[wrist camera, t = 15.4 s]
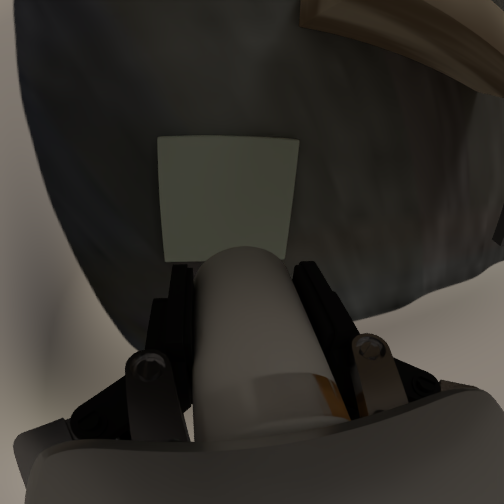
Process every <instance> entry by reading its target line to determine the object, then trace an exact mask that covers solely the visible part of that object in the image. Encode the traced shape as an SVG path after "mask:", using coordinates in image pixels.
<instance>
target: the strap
mask: <svg viewBox="0 0 504 504" xmlns="http://www.w3.org/2000/svg"><path fill="white" fill-rule="evenodd" d="M492 240H493V241H495V242H496V243H497V244H498V245H500V246H504V205H503V209H502V212H501V215H500V218H499V221H498V224H497V227H496V230H495V233H494V235H493V238H492Z"/></svg>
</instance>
